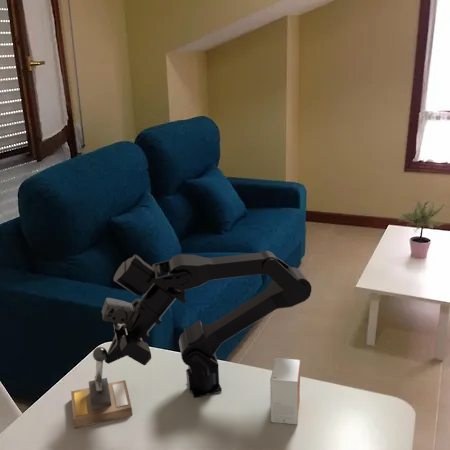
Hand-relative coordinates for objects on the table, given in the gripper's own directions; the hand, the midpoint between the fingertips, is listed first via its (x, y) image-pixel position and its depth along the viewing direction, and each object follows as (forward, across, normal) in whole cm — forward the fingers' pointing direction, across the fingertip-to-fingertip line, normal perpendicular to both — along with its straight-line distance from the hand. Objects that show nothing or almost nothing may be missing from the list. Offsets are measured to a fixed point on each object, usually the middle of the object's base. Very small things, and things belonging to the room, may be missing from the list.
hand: (106, 361), depth 115 cm
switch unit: (+9, 0, +6) cm, 11 cm away
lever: (+5, 0, +2) cm, 5 cm away
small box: (-16, +15, +33) cm, 40 cm away
